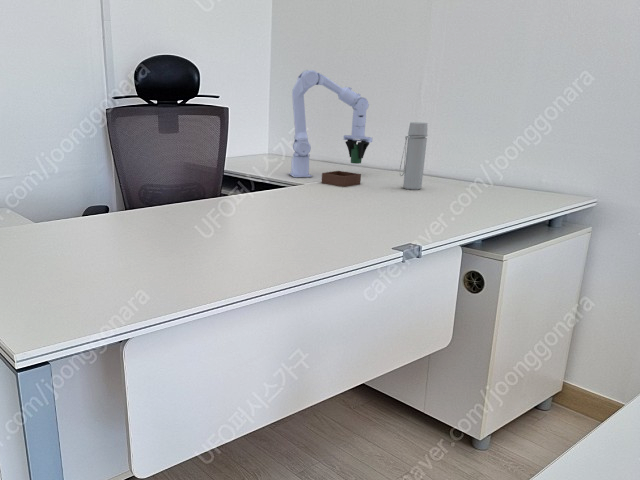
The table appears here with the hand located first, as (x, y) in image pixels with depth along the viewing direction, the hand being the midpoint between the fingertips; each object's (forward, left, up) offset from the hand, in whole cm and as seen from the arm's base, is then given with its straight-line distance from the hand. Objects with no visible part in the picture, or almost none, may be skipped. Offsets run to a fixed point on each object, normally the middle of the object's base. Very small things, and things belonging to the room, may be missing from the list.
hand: (356, 157), depth 263 cm
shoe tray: (+20, -14, -8) cm, 25 cm away
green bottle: (0, 0, -2) cm, 2 cm away
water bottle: (+36, +9, -8) cm, 38 cm away
